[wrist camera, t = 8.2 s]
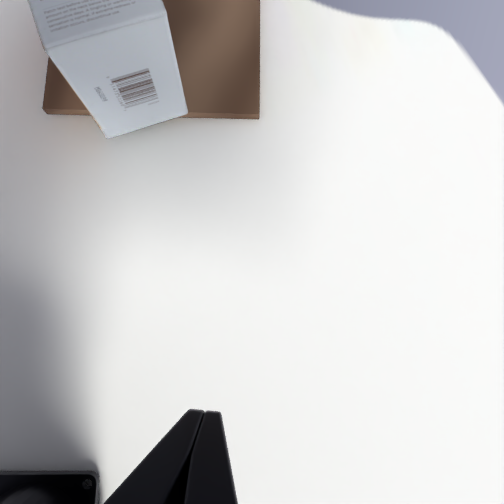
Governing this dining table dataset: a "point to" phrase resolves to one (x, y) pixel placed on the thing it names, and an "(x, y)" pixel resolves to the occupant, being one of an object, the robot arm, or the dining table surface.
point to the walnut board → (198, 60)
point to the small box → (114, 59)
